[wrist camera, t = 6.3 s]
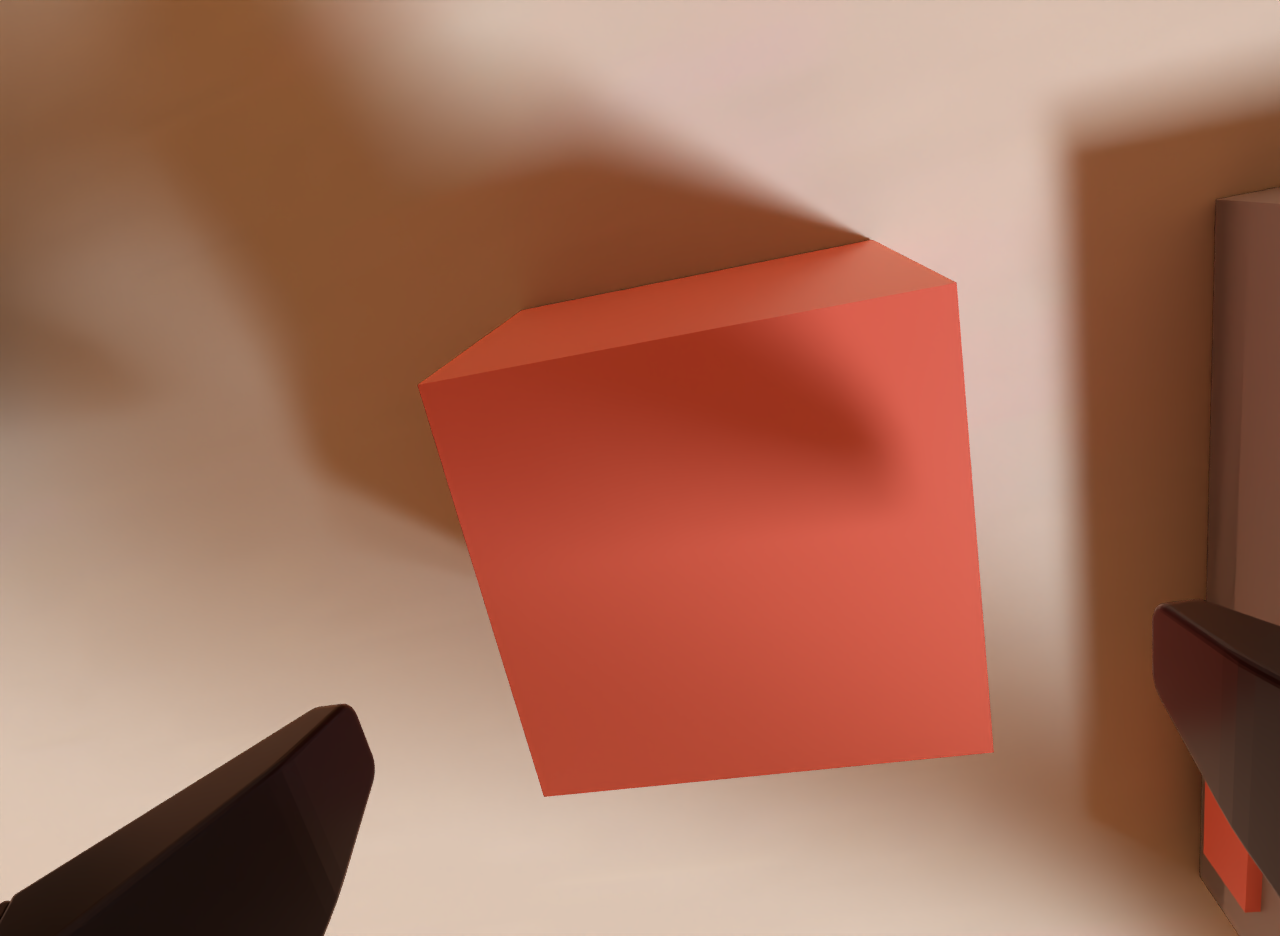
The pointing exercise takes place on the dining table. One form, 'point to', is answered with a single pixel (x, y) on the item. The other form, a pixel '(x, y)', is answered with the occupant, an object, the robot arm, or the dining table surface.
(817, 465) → the cap
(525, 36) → the dining table surface
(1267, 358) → the switch box
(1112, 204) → the dining table surface
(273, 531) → the dining table surface
